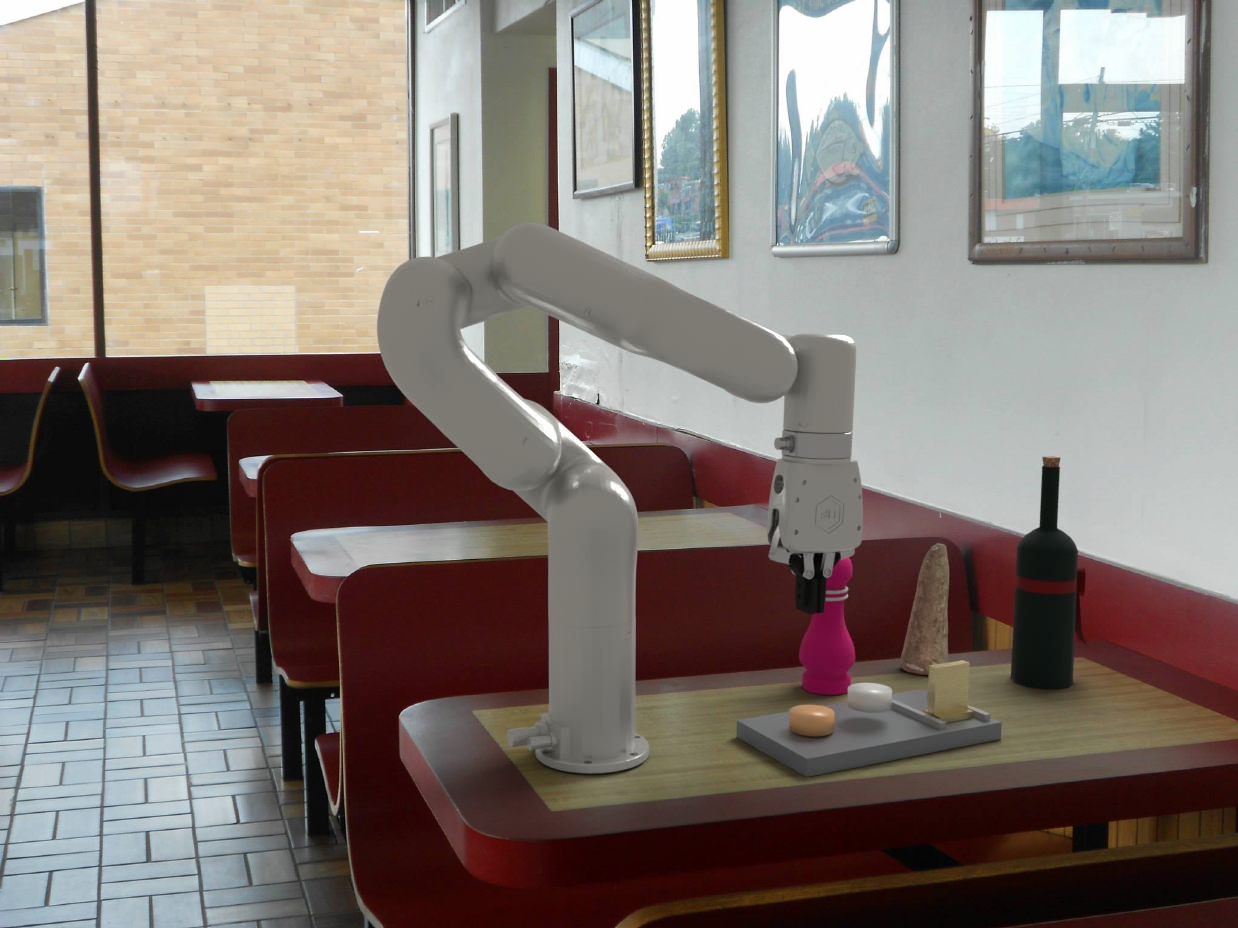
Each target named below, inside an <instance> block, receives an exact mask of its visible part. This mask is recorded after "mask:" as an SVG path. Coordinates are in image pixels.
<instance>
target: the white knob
mask: <svg viewBox="0 0 1238 928" xmlns="http://www.w3.org/2000/svg"><path fill="white" fill-rule="evenodd" d="M892 694H893V689H892V688H891V687H890V686H888V685H886V684H885V685H884V684H881V683H875V682H858V683H853V684H852V683H851V685H850V686H848V692H847V701H846V702H847V705H848V707H849V708H851V709H853V710H856V711H859V712H866V713H882V712H886V711H889V710H891V708H892Z"/></svg>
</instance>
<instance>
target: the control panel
mask: <svg viewBox="0 0 1238 928" xmlns="http://www.w3.org/2000/svg"><path fill="white" fill-rule="evenodd" d="M823 706H824V707H828V708H830V709H832V710H833V711H834V713H835V715H834V732H833V733H831V734H829V735H825V736H805V735H800V734H796V733H794V732H792V731H791V730H790V729H789V711H784V712H778V713H772V714H766V715H760V716H755V717H753V716H752V717H749V718H748V717H747V718H742V719H737V720H736V738H738V739H739V740H740V741H742V742H744V743H745V744H748V745H749V746H752V747H753V748H755V749H757V750H759V751H760V752H762V753H764V754H766V755H768V756H769V757H771V758H773V760H774V759H775V760H776V761H778V762H780V763H781V764H783V765H784V766H787V767H788V768H790V769H792V770H794V771H795V772H797V773H798V774H800V775H802V776H804V777H806V778H808V777H813V776H814V777H815V776H818V775H819V776H820V775H824V774H829V773H833V772H839V771H840V772H841V771H845V770H849V769H854V768H855V769H856V768H860V767H865V766H869V765H875V764H880V763H885V762H891V761H895V760H899V759H901V760H902V759H906V758H910V757H916V756H923V755H927V754H931V753H936V752H942V751H947V750H950V749H951V750H952V749H956V748H957V749H958V748H962V747H967V746H971V745H972V746H973V745H977V744H982V743H988V742H994V741H998V740H1001V739H1002V725H1003V724H1002V721H1000V720H997V719H995V718H993V717H991V713H990V712H987V711H984V710H982V709H980V708H977V707H974V706H971V705H969V704H968V709H969V710H972V711H973V718H970V719H965V720H959V721H954V722H949V723H946V722H944V721H942V720H940V719H937V718H935V717H933V716H930V715H928V714H926V713H924V712H922V710H925V709H928V690H924V689H915V690H911V691H910V690H909V691H904V692H898V693H892V708H891V710H889V711H886V712H882V713H866V712H859V711H856V710H853V709H851V708H849V707H848V705H847V701H844V702H838V703H833V704H827V705H825V704H824V705H823Z"/></svg>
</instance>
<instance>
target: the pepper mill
mask: <svg viewBox="0 0 1238 928" xmlns="http://www.w3.org/2000/svg"><path fill="white" fill-rule="evenodd" d="M852 576H853V564H852V560H851V558H850V557H848V558H845V559H843V560H839V562H838V563H837V564H836V565H835V567H834V568H833V569H832V574H831V576H830V577H828V578H826V599H825V603H824V613H821V614H818V613H815V614H811V615H812V616H811V620H810V623H809V626H808V628H807V630H806V632H805V634H804V635H803V638H802V640H801V643H800V647H799V653H798V654H799V655H798V658H799V661H800V663H801V664H802V666H803V667H804V669H805V671H804V672H803V673H802V674H801V675H802V681H801V683H802V684H801V686H802V689H803V690H804V691H806V692H809V693H811V694H814V695H821V696H822V695H823V696H838V695H843V694H848V686H850V685H852V677H851V675H850V674H849V673H848V671H850V669H851V668H852V667H853V666H854V664H855V662H856V650H855V646H854V642H853V639H852V637H851V636H850V633H849V631H848V629H847V625H846V622H845V617H844V613H845V612H844V607H845V602H846V600H847V599H848V597H849V594H848V592H849V587H848V586H847V583H848V582H849V581H850V580H851V578H852Z"/></svg>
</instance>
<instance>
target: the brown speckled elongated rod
mask: <svg viewBox="0 0 1238 928" xmlns="http://www.w3.org/2000/svg"><path fill="white" fill-rule="evenodd" d="M919 569H920V570H919V573H918V577H917V585H916V592H915V596H914V598H913V599H914V600H913V603H912V608H911V612H910V618H909V621H908V624H907V625H908V626H907V631H906V635H905V637H904V638H905V640H904V644H903V648H902V652H901V655H900V668H901V669H902V670H904V671H905V672H907V673H908V674H909V673H910V674H915V675H921V676H929V665H935V664H942V663H948V662H950V660H949V647H948V646H949V643H948V635H949V627H948V626H949V623H948V599H949V588H950V566H949V558H948V550H947V546H946V545H945V543H940V542H939V543H938V542H937V543H935V544H934V545H933V546H931V547H930V548H929V550H928V551H927V552H926V554H925V556H924V558H923V560H922V564H921V566H920V568H919Z"/></svg>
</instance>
